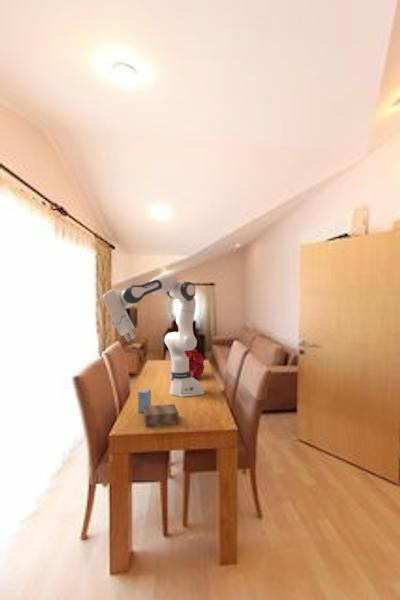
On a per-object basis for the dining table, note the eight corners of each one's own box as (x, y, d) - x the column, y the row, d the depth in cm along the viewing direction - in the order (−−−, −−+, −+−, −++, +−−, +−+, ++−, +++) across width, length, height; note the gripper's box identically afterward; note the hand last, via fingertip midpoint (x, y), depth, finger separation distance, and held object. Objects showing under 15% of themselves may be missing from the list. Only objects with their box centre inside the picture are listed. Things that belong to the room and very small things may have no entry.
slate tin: (142, 409, 200) (142, 388, 199) (150, 410, 198) (150, 389, 198) (138, 412, 195) (137, 390, 195) (146, 413, 193) (146, 391, 193)
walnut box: (174, 415, 191) (174, 404, 191) (178, 424, 177) (178, 412, 177) (143, 417, 188) (143, 406, 187) (145, 427, 174) (145, 415, 174)
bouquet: (171, 383, 280) (177, 372, 254) (171, 355, 291) (177, 341, 266) (198, 384, 284) (207, 372, 258) (197, 355, 295) (205, 342, 270)
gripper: (130, 311, 191) (141, 334, 191) (121, 318, 209) (132, 339, 209) (119, 316, 188) (131, 340, 188) (111, 323, 206) (122, 344, 206)
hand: (131, 339), depth 198 cm, fingers open, 8 cm apart
